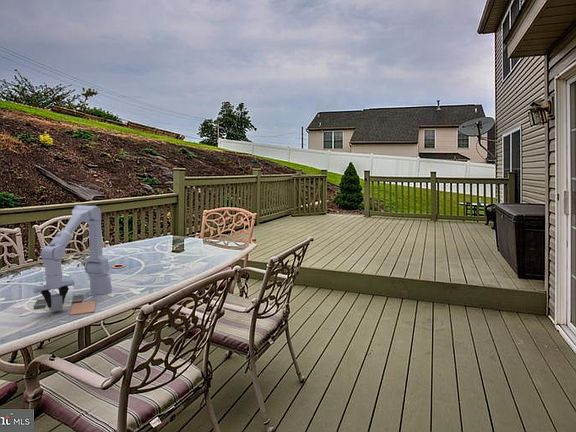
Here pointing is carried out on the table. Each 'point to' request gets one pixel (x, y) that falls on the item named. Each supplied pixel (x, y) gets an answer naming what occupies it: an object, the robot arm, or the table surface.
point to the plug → (56, 303)
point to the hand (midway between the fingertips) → (55, 305)
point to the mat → (83, 308)
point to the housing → (42, 303)
